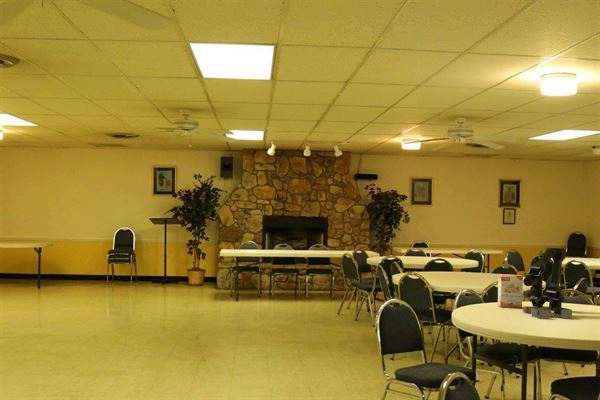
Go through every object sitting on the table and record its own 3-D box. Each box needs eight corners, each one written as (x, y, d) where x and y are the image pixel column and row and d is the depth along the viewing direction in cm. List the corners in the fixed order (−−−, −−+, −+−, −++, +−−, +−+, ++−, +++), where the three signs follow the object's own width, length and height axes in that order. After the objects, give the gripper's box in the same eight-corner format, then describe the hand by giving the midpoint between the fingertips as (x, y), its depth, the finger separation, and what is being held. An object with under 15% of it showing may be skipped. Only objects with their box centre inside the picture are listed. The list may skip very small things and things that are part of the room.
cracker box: (500, 307, 356) (501, 274, 357) (497, 306, 362) (497, 273, 363) (522, 308, 355) (523, 275, 356) (519, 306, 362) (519, 274, 362)
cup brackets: (564, 316, 329) (564, 307, 330) (573, 318, 322) (573, 309, 322) (530, 316, 326) (530, 307, 326) (537, 318, 318) (537, 309, 319)
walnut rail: (547, 312, 342) (547, 306, 342) (550, 313, 338) (550, 307, 338) (523, 312, 339) (523, 306, 340) (526, 313, 336) (526, 307, 336)
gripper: (516, 283, 347) (516, 308, 347) (533, 287, 329) (533, 313, 328) (533, 283, 349) (533, 308, 348) (550, 287, 330) (550, 313, 330)
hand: (536, 311), depth 339 cm, fingers open, 4 cm apart
